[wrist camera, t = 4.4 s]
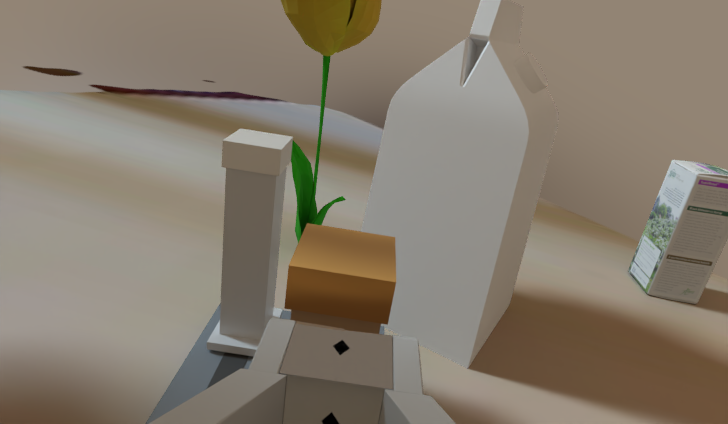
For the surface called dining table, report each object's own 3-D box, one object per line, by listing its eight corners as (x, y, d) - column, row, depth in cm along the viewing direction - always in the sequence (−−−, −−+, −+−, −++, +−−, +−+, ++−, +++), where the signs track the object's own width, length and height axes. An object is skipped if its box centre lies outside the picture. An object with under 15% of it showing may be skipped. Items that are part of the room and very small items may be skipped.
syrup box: (699, 305, 51) (760, 181, 46) (644, 295, 52) (698, 170, 46) (674, 280, 56) (726, 166, 51) (624, 271, 57) (670, 157, 51)
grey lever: (265, 358, 31) (283, 154, 26) (206, 349, 31) (212, 142, 26) (281, 315, 36) (299, 135, 30) (230, 307, 36) (239, 125, 30)
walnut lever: (343, 591, 19) (406, 297, 14) (247, 576, 19) (273, 276, 14) (352, 481, 24) (402, 229, 18) (275, 469, 24) (302, 214, 18)
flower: (352, 242, 53) (398, -56, 42) (333, 275, 45) (383, -78, 34) (280, 226, 54) (307, -69, 43) (250, 255, 47) (273, -92, 35)
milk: (405, 262, 50) (459, 2, 41) (509, 304, 45) (598, 19, 36) (344, 307, 41) (395, -21, 31) (467, 368, 35) (575, -2, 26)
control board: (373, 647, 19) (383, 611, 18) (52, 597, 19) (45, 559, 18) (381, 338, 37) (386, 313, 36) (221, 313, 37) (222, 287, 36)
